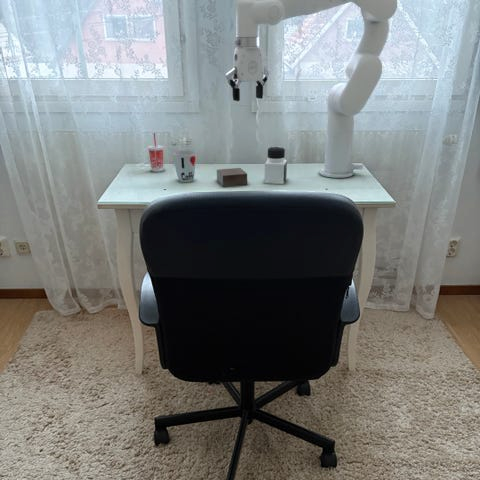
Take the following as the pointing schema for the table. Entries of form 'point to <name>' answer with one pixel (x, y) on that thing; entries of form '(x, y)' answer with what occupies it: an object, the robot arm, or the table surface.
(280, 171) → the medicine bottle
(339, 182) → the table surface
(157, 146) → the beverage cup
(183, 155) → the cup
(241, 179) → the walnut block
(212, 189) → the table surface
